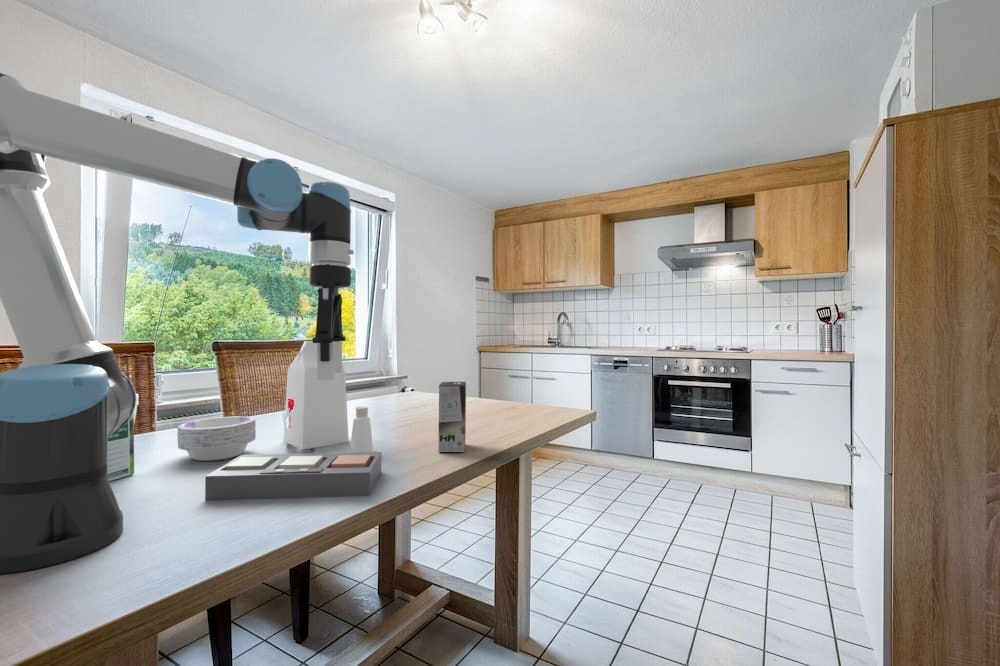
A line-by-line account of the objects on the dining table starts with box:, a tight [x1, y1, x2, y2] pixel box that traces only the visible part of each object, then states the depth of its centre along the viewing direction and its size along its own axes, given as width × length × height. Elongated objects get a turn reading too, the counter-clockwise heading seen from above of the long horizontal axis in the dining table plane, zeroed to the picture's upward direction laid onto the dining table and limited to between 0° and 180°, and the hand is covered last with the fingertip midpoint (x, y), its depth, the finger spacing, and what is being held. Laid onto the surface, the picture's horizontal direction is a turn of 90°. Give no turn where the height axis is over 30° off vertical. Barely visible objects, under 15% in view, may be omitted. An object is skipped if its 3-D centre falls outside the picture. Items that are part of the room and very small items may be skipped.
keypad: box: [204, 451, 382, 501], centre depth 87 cm, size 14×27×4 cm, turn 96°
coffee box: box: [437, 381, 467, 453], centre depth 115 cm, size 9×6×16 cm
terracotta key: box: [331, 455, 371, 468], centre depth 88 cm, size 6×6×2 cm
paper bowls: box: [176, 415, 257, 462], centre depth 106 cm, size 15×15×8 cm
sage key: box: [226, 457, 274, 470], centre depth 86 cm, size 6×6×2 cm
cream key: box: [279, 456, 323, 469], centre depth 87 cm, size 6×6×2 cm
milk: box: [283, 340, 350, 450], centre depth 121 cm, size 12×12×26 cm
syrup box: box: [107, 411, 135, 482], centre depth 90 cm, size 6×6×14 cm
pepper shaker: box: [349, 405, 374, 453], centre depth 109 cm, size 5×5×11 cm
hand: (330, 376), depth 91 cm, fingers open, 13 cm apart
